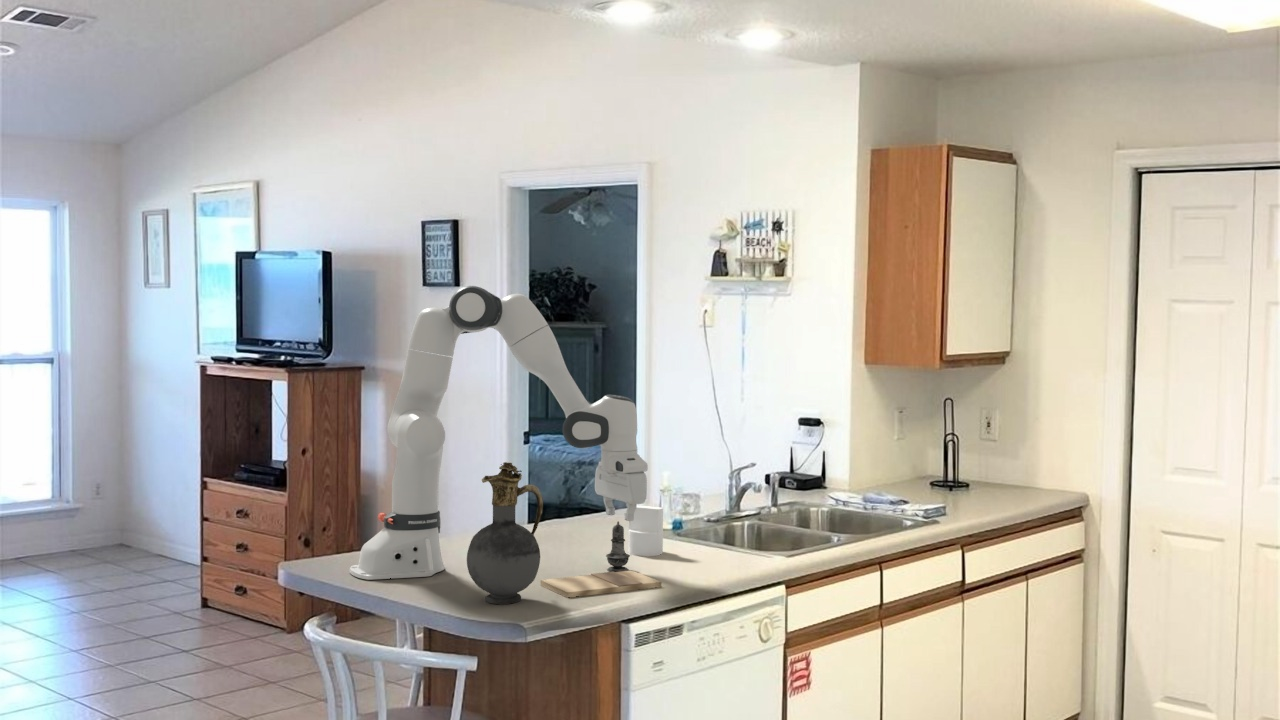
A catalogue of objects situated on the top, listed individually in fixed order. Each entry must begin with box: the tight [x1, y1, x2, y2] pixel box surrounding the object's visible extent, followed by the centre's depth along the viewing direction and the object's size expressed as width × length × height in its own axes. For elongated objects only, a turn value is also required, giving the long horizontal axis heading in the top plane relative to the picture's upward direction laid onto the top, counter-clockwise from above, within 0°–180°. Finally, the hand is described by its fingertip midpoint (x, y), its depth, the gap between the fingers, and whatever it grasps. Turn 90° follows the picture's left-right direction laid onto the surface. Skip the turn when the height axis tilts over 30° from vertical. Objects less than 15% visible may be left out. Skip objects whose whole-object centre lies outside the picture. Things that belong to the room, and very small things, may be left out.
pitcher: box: [466, 461, 544, 605], centre depth 271 cm, size 11×19×30 cm, turn 138°
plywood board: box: [540, 570, 662, 599], centre depth 285 cm, size 24×14×1 cm, turn 120°
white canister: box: [627, 505, 664, 557], centre depth 325 cm, size 9×9×12 cm
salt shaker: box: [605, 521, 631, 572], centre depth 303 cm, size 6×6×12 cm
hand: (619, 517), depth 303 cm, fingers open, 8 cm apart
